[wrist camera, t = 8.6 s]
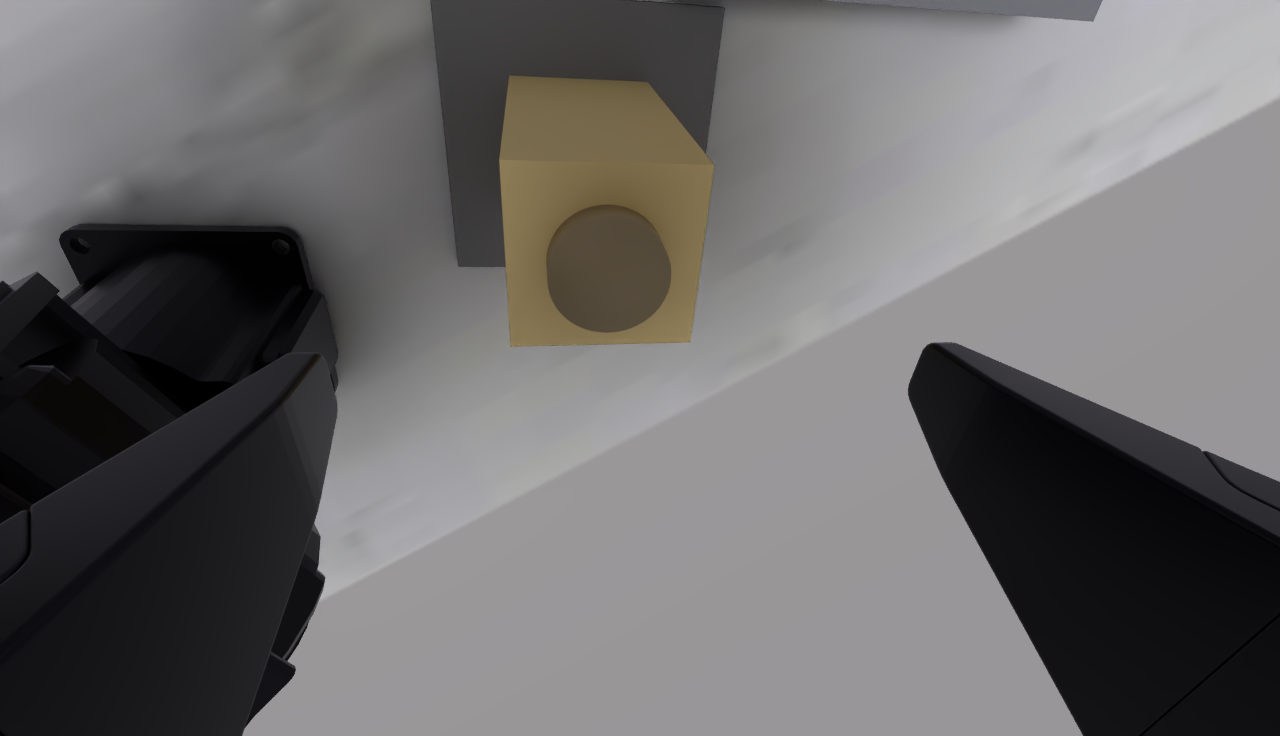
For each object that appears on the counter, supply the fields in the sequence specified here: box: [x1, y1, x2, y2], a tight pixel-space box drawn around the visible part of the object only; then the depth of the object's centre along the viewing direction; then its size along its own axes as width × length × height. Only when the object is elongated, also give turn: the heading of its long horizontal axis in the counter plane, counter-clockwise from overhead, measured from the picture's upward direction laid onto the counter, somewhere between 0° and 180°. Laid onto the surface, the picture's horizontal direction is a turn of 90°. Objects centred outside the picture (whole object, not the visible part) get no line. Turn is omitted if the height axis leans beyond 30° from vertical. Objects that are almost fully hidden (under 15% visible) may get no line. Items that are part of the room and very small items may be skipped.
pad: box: [431, 0, 725, 267], centre depth 19 cm, size 8×8×1 cm
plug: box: [499, 76, 714, 347], centre depth 15 cm, size 4×4×9 cm
